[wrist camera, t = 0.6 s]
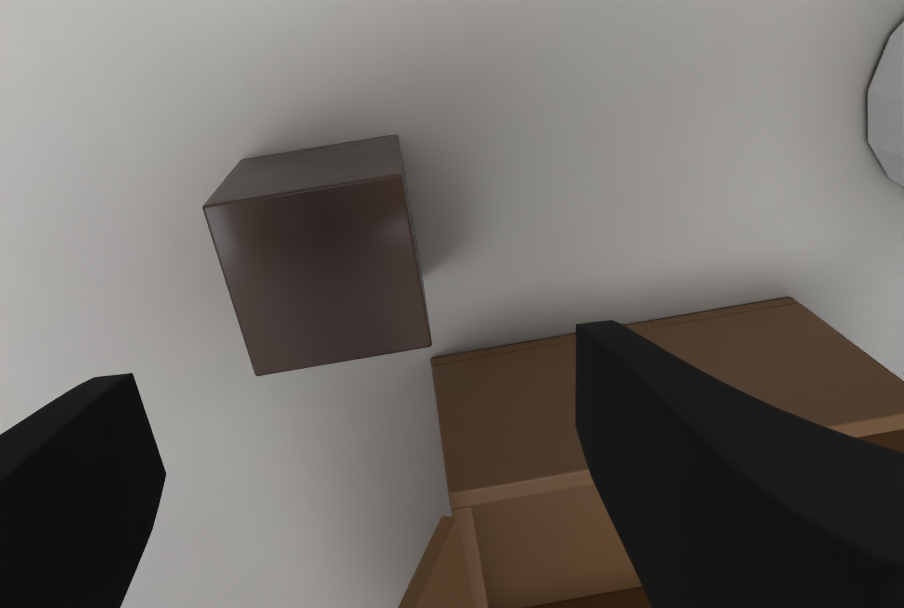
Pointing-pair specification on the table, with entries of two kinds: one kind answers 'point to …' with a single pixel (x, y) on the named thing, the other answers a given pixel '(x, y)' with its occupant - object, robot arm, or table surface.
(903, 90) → the white cup
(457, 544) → the door
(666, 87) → the table surface
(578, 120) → the table surface
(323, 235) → the block
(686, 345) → the brown open box
